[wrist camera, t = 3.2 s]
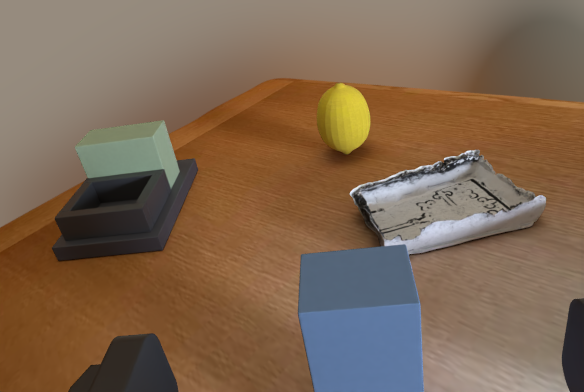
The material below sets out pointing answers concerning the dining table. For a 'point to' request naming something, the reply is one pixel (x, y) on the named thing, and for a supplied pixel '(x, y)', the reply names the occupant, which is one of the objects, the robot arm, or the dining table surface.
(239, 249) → the dining table surface
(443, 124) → the dining table surface
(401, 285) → the blue rectangular block
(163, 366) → the robot arm
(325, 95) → the lemon
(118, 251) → the seat frame
